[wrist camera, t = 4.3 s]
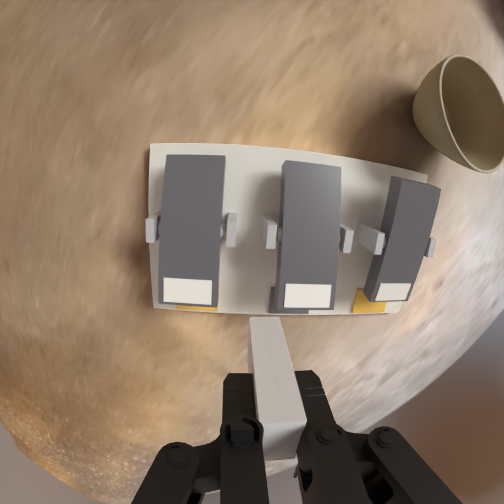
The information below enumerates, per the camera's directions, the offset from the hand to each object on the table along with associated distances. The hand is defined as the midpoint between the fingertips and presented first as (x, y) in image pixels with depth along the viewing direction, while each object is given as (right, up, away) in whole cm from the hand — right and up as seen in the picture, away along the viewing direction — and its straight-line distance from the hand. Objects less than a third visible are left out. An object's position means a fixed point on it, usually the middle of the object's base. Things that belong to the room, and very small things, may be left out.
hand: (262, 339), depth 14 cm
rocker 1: (-5, +6, +4) cm, 9 cm away
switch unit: (+3, +6, +9) cm, 11 cm away
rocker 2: (+3, +6, +5) cm, 8 cm away
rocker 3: (+11, +5, +6) cm, 14 cm away
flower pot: (+17, +18, +6) cm, 25 cm away
